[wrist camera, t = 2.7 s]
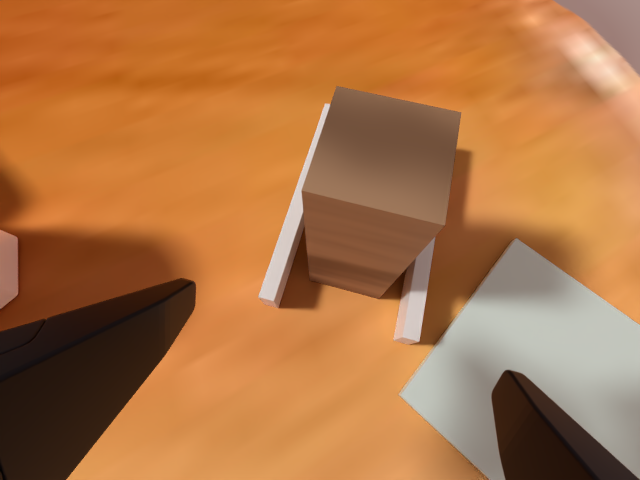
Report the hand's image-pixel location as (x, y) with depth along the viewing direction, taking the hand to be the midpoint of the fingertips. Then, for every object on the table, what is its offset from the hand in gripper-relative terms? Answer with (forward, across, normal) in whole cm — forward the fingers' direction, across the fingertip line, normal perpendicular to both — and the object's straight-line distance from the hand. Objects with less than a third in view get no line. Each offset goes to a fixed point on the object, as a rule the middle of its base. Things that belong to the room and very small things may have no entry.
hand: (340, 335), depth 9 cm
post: (+14, 0, +4) cm, 15 cm away
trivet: (+10, -14, +8) cm, 19 cm away
